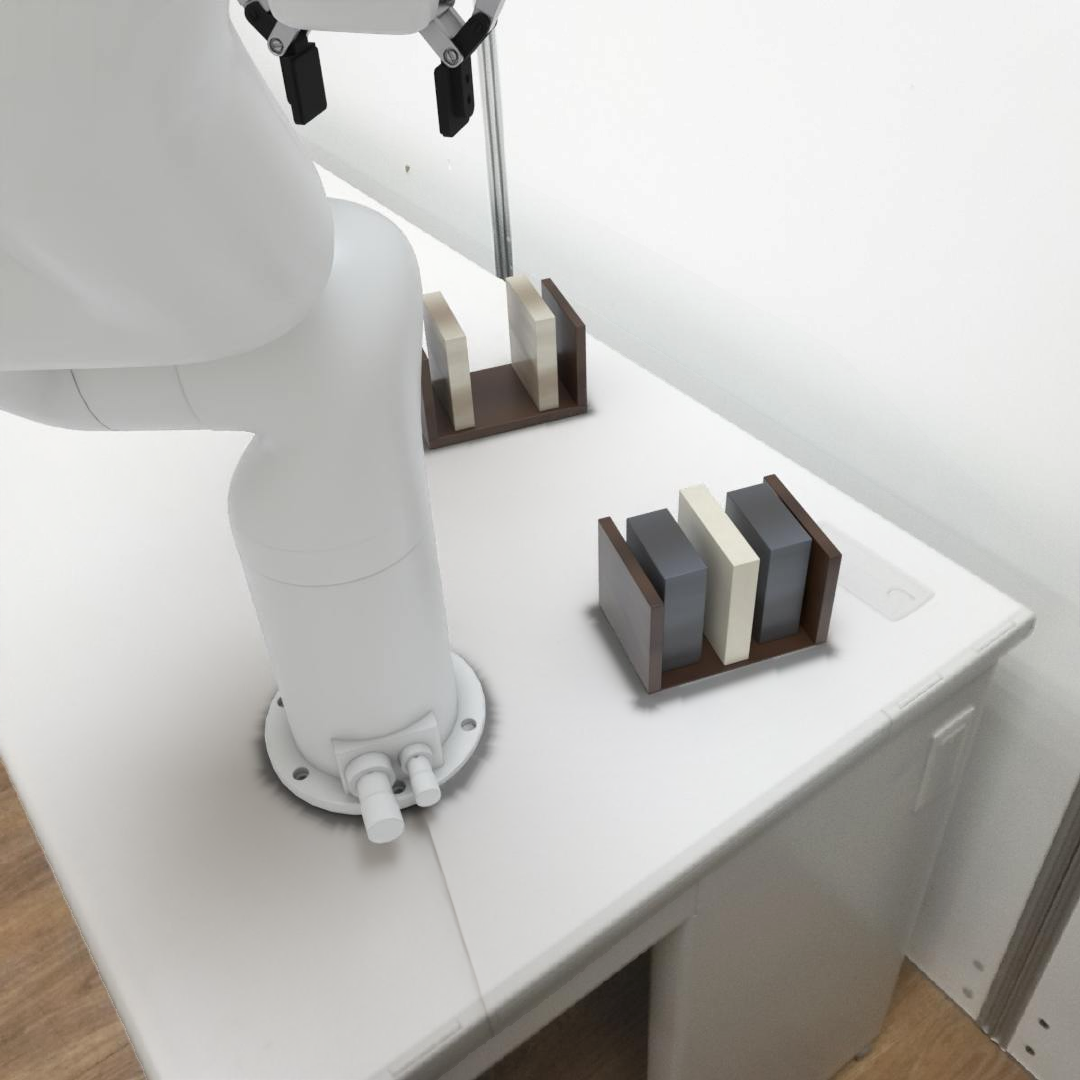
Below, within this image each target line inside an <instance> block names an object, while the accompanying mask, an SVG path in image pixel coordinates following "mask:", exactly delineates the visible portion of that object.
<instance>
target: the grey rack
mask: <svg viewBox="0 0 1080 1080" xmlns="http://www.w3.org/2000/svg"><path fill="white" fill-rule="evenodd" d="M724 506H725V507H724V512H725V513H726V514H727V516H728V517H729V518H730V520H731V521H732V522H733V524H734V525H735V526H736V528H737V529H738V530H739V532H740V533H741V534H742V536H743V537H744V538H745V540H746V541H747V542H748V544H749V545H750V546H751V548H752V549H753V550H754V552H755V553H756V554H757V556H758V557H759V558H760V563H759V572H758V580H757V589H756V598H755V606H754V615H753V623H752V632H751V640H750V649H749V658H748V659H746V660H742V661H739V662H735V663H732V664H729V665H725V666H724V664H723V663H722V661H721V660H720V658H719V657H718V655H717V653H716V652H715V650H714V649H713V647H712V646H711V644H710V642H709V641H708V639H707V638H706V636H705V635H704V633H703V625H704V612H705V599H706V586H707V572H708V567H707V566H706V564H705V563H704V561H703V560H702V558H701V557H700V556H699V554H698V553H697V551H696V550H695V548H694V547H693V545H692V544H691V542H690V541H689V539H688V538H687V537H686V535H685V534H684V532H683V531H682V529H681V528H680V526H679V525H678V521H676V519H675V517H674V516H673V515H672V513H671V512H670V510H669V509H668V508H667V507H664V508H661V509H657V510H653V511H649V512H645V513H642V514H638V515H634V516H630V517H627V518H626V519H625V521H626V523H625V526H626V527H625V538H626V539H625V538H624V536H623V535H622V533H621V531H620V530H619V528H618V527H617V526H616V523H615V522H614V521H613V519H612V517H611V515H609V516H605V517H601V518H598V519H597V541H598V542H597V546H598V547H597V548H598V549H597V551H598V552H597V556H598V561H597V563H598V606H599V607H600V609H601V611H602V613H603V614H604V617H605V618H606V621H607V622H608V624H609V626H610V627H611V629H612V631H613V633H614V635H615V636H616V638H617V640H618V642H619V644H620V645H621V647H622V649H623V651H624V653H625V654H626V656H627V658H628V660H629V662H630V664H631V665H632V667H633V669H634V671H635V672H636V675H637V677H638V678H639V680H640V682H641V683H642V685H643V687H644V689H645V691H646V693H647V694H648V695H652V694H655V693H659V692H662V691H666V690H669V689H673V688H676V687H678V686H682V685H685V684H686V685H687V684H690V683H693V682H697V681H699V680H703V679H706V678H710V677H713V676H717V675H720V674H723V673H726V672H727V673H728V672H730V671H733V670H737V669H741V668H744V667H746V666H750V665H753V664H757V663H760V662H763V661H767V660H770V659H774V658H776V657H781V656H784V655H787V654H791V653H794V652H797V651H800V650H803V649H808V648H811V647H814V646H817V645H821V644H825V643H827V641H828V635H829V630H830V625H831V619H832V614H833V610H834V609H833V608H834V603H835V597H836V592H837V587H838V586H837V585H838V580H839V575H840V570H841V564H842V560H843V559H842V558H843V554H842V553H841V551H840V550H839V549H838V547H837V546H836V545H835V544H834V543H833V542H832V540H831V539H830V538H829V537H828V536H827V534H826V533H825V532H824V531H823V530H822V529H821V527H820V526H819V525H818V524H817V523H816V521H815V520H814V519H813V518H812V516H811V515H810V514H809V513H808V512H807V510H806V509H805V508H804V507H803V505H802V504H801V503H800V502H799V501H798V500H797V498H796V497H795V496H794V495H793V494H792V492H791V491H790V490H789V489H788V488H787V487H786V485H785V484H784V483H783V481H781V479H780V478H779V477H778V476H777V474H776V473H772V474H769V475H768V474H767V475H764V476H763V478H762V482H761V483H756V484H754V485H750V486H746V487H742V488H738V489H734V490H731V491H727V492H726V496H725V505H724Z"/></svg>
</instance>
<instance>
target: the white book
mask: <svg viewBox="0 0 1080 1080" xmlns="http://www.w3.org/2000/svg"><path fill="white" fill-rule="evenodd" d="M677 523H678V525H679V526H680V528H681V529H682V531H683V532H684V534H685V535H686V537H687V538H688V539H689V541H690V542H691V544H692V545H693V547H694V548H695V550H696V551H697V553H698V554H699V556H700V557H701V558H702V560H703V561H704V563H705V564H706V566H707V567H708V572H707V586H706V599H705V612H704V625H703V633H704V635H705V636H706V638H707V639H708V641H709V642H710V644H711V646H712V647H713V649H714V650H715V652H716V653H717V655H718V657H719V658H720V660H721V661H722V663H723V664H724V666H725V665H729V664H732V663H735V662H739V661H742V660H746V659H748V658H749V649H750V640H751V632H752V623H753V615H754V606H755V598H756V589H757V580H758V572H759V563H760V558H759V557H758V556H757V554H756V553H755V552H754V550H753V549H752V548H751V546H750V545H749V544H748V542H747V541H746V540H745V538H744V537H743V536H742V534H741V533H740V532H739V530H738V529H737V528H736V526H735V525H734V524H733V522H732V521H731V520H730V518H729V517H728V516H727V514H726V513H725V509H723V507H722V506H721V505H720V503H719V502H718V501H717V499H716V497H715V496H713V494H712V493H711V491H710V490H709V489H708V487H707V486H706V484H705V483H700V484H697V485H693V486H689V487H685V488H681V489H679V490H678V509H677Z"/></svg>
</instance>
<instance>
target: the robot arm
mask: <svg viewBox="0 0 1080 1080" xmlns="http://www.w3.org/2000/svg"><path fill="white" fill-rule="evenodd" d="M230 1H231V0H0V411H3V412H6V413H9V414H12V415H14V416H17V417H20V418H23V419H25V420H28V421H32V422H34V423H38V424H41V425H43V426H44V425H45V426H49V427H53V428H59V429H64V430H71V431H82V432H83V431H84V432H153V431H154V432H155V431H213V432H245V433H251V434H254V435H253V436H252V438H251V439H250V441H249V443H248V444H247V446H246V448H245V449H244V450H243V452H242V454H241V456H240V458H239V460H238V461H237V464H236V466H235V468H234V471H233V473H232V476H231V478H230V481H229V487H228V493H227V517H228V523H229V527H230V531H231V534H232V537H233V542H234V545H235V549H236V551H237V554H238V557H239V560H240V563H241V567H242V570H243V574H244V577H245V580H246V585H247V587H248V591H249V594H250V597H251V600H252V604H253V607H254V608H253V609H254V610H255V614H256V617H257V621H258V624H259V626H260V632H261V634H262V637H263V641H264V644H265V647H266V651H267V655H268V657H269V662H270V664H271V665H270V666H271V668H272V671H273V674H274V678H275V682H276V684H277V688H278V690H277V691H276V694H275V695H274V697H273V698H272V700H271V703H270V705H269V709H268V711H267V715H266V718H265V722H264V723H265V725H264V742H265V746H266V747H265V748H266V752H267V755H268V758H269V761H270V763H271V766H272V768H273V771H274V772H275V774H276V775H277V777H278V779H279V780H280V781H281V784H283V785H284V786H285V787H286V788H287V789H288V790H289V791H290V792H291V793H293V794H294V795H295V796H296V797H297V798H299V799H301V800H302V801H304V802H306V803H308V804H309V805H311V806H313V807H317V808H319V809H322V810H326V811H328V812H330V813H337V814H344V815H351V816H362V820H363V824H364V827H365V831H366V835H367V839H368V840H369V841H370V842H372V843H373V844H386V843H391V842H392V841H395V840H396V839H398V838H400V837H401V835H402V834H403V833H404V832H405V828H406V825H405V821H404V818H403V814H402V811H401V810H403V809H405V808H408V807H411V806H414V805H417V806H419V807H421V808H426V807H431V806H433V805H435V804H437V803H438V802H439V801H441V798H442V792H441V791H442V790H441V788H440V787H441V786H442V785H444V784H445V783H446V782H447V781H449V780H450V779H451V778H452V777H454V776H455V775H456V774H457V773H458V772H459V771H460V770H461V769H462V768H463V767H464V766H465V764H466V763H467V762H468V761H469V759H470V758H471V756H472V755H473V754H474V752H475V750H476V749H477V747H478V745H479V743H480V740H481V738H482V736H483V732H484V728H485V724H486V716H487V708H486V707H487V706H486V697H485V693H484V691H483V690H484V689H483V686H482V682H481V681H480V680H479V677H478V676H477V674H476V672H475V670H474V669H473V668H472V667H471V666H470V665H469V664H468V662H467V661H466V660H465V659H464V658H463V657H461V655H459V654H458V653H456V652H455V651H453V650H452V648H451V641H450V635H449V627H448V621H447V614H446V608H445V607H446V606H445V599H444V591H443V585H442V578H441V571H440V570H441V569H440V564H439V556H438V555H439V554H438V550H437V549H438V548H437V543H436V535H435V528H434V521H433V514H432V508H431V507H432V506H431V497H430V493H429V492H430V491H429V485H428V476H427V469H426V460H425V451H424V443H423V442H424V440H423V433H422V425H421V363H422V347H423V338H424V337H423V336H424V335H423V334H424V320H423V294H424V290H423V284H422V278H421V271H420V265H419V262H418V259H417V255H416V253H415V249H414V248H413V246H412V244H411V242H410V240H409V239H408V237H407V236H406V234H405V233H404V232H403V230H402V229H401V228H400V227H399V226H398V225H397V224H396V223H395V222H394V221H392V220H391V219H390V218H389V217H388V216H386V215H384V214H383V213H381V212H379V211H377V210H376V209H373V208H372V207H370V206H367V205H365V204H361V203H358V202H355V201H351V200H347V199H343V198H337V197H331V196H330V197H329V196H327V194H326V191H325V188H324V184H323V181H322V179H321V176H320V173H319V171H318V169H317V166H316V165H315V164H314V161H313V159H312V157H311V155H310V154H309V152H308V150H307V149H306V147H305V144H303V142H302V140H301V138H300V137H299V135H298V133H297V131H296V129H295V128H294V126H293V124H292V123H291V121H290V119H289V118H288V116H287V114H286V112H285V111H284V110H283V108H282V106H281V104H280V103H279V100H278V99H277V98H276V96H275V95H274V93H273V91H272V89H271V88H270V87H269V84H268V83H267V81H266V80H265V78H264V77H263V75H262V73H261V72H260V70H259V68H258V66H257V65H256V63H255V61H254V60H253V58H252V57H251V55H250V53H249V52H248V50H247V48H246V47H245V44H244V42H243V41H242V38H241V37H240V35H239V33H238V31H237V29H236V27H235V25H234V24H233V21H232V19H231V17H230V16H231V15H230ZM237 2H238V4H239V6H240V7H242V8H243V10H244V11H243V13H244V18H245V20H246V21H247V22H248V23H249V24H250V26H252V27H253V28H254V29H255V31H257V32H258V33H259V34H260V35H261V37H262V38H263V39H264V40H265V41H266V45H267V49H268V51H269V52H270V54H271V55H273V56H275V57H278V58H279V65H280V70H281V75H282V80H283V86H284V91H285V96H286V100H287V101H286V102H287V103H288V104H289V105H290V109H291V113H292V119H293V122H294V124H295V125H297V126H306V125H307V124H308V123H310V122H311V121H313V120H314V119H315V118H316V117H318V116H319V115H320V114H322V113H323V112H325V110H327V108H328V101H327V95H326V89H325V82H324V77H323V70H322V65H321V64H322V63H321V59H320V53H319V52H320V51H319V48H318V47H317V45H316V44H317V43H316V42H315V41H309V39H308V37H309V35H310V34H311V32H312V31H317V32H332V33H348V34H349V33H350V34H351V33H352V34H365V35H367V34H369V35H389V36H408V35H414V34H416V33H419V34H420V35H421V37H422V38H423V39H424V41H425V42H426V43H427V44H428V45H429V47H430V48H431V49H432V51H433V52H434V53H435V54H436V55H437V57H438V58H439V59H440V64H438V65H437V66H436V67H435V68H434V70H433V80H434V90H435V99H436V100H435V101H436V109H437V119H438V129H439V134H440V135H442V136H443V138H454V137H455V136H456V135H457V134H459V132H460V131H461V130H462V129H463V128H465V127H466V125H467V124H468V123H469V122H470V119H471V117H472V116H473V115H474V112H475V105H476V103H475V93H474V92H475V91H474V90H475V89H474V78H473V66H472V55H473V54H474V53H475V52H476V51H477V50H478V48H479V46H480V45H481V44H482V43H483V42H484V41H485V40H486V39H487V37H488V36H489V35H490V34H491V32H492V31H493V30H494V29H495V28H496V27H497V25H498V19H499V16H500V14H501V13H502V10H503V8H504V5H505V4H506V3H505V2H506V0H475V4H474V7H473V11H472V14H471V16H470V17H469V18H468V19H467V21H465V20H464V19H463V17H462V16H461V15H460V14H459V12H458V11H457V9H455V8H454V6H455V4H456V0H237ZM471 724H472V725H474V726H475V727H474V728H472V729H470V730H465V729H463V727H464V726H466V725H471Z"/></svg>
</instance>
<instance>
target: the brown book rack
mask: <svg viewBox="0 0 1080 1080" xmlns="http://www.w3.org/2000/svg"><path fill="white" fill-rule="evenodd" d="M504 279H505V293H506V306H507V320H508V333H509V334H508V335H509V348H510V349H509V350H510V359H511V360H510V361H511V362H510V363H505V364H502V365H501V364H500V365H497V366H493V367H489V368H484V369H479V370H475V371H470V362H469V351H468V341H467V340H468V339H467V335H466V334H465V331H464V330H463V328H462V326H461V325H460V323H459V321H458V320H457V318H456V316H455V314H454V312H453V310H452V309H451V307H450V305H449V304H448V302H447V300H446V298H445V297H444V295H443V294H442V291H440V290H438V291H433V292H428V293H423V329H424V335H425V342H426V350H427V351H426V352H427V354H426V352H425V349H424V347H423V346H422V363H421V425H422V436H423V437H424V439H425V442H426V444H427V447H428V449H429V450H432V449H437V448H442V447H445V446H450V445H453V444H459V443H462V442H466V441H471V440H475V439H479V438H484V437H488V436H493V435H496V434H501V433H506V432H509V431H514V430H518V429H523V428H526V427H531V426H535V425H539V424H540V425H541V424H544V423H548V422H552V421H557V420H560V419H565V418H569V417H574V416H577V415H582V414H587V413H588V385H587V383H588V382H587V377H588V376H587V330H586V324H585V323H584V321H583V320H582V318H581V317H580V316H579V314H578V313H577V312H576V310H575V309H574V307H573V306H572V305H571V304H570V303H569V301H568V300H567V299H566V297H565V295H564V294H563V293H562V292H561V290H560V289H559V288H558V286H557V285H556V284H555V282H554V281H553V280H552V279H551V277H547V278H541V280H540V286H541V287H540V289H541V295H540V293H539V292H538V290H537V289H536V287H534V285H533V283H532V282H531V281H530V279H529V278H528V276H527V275H526V274H525V273H521V274H516V275H512V276H508V277H505V278H504Z"/></svg>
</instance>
